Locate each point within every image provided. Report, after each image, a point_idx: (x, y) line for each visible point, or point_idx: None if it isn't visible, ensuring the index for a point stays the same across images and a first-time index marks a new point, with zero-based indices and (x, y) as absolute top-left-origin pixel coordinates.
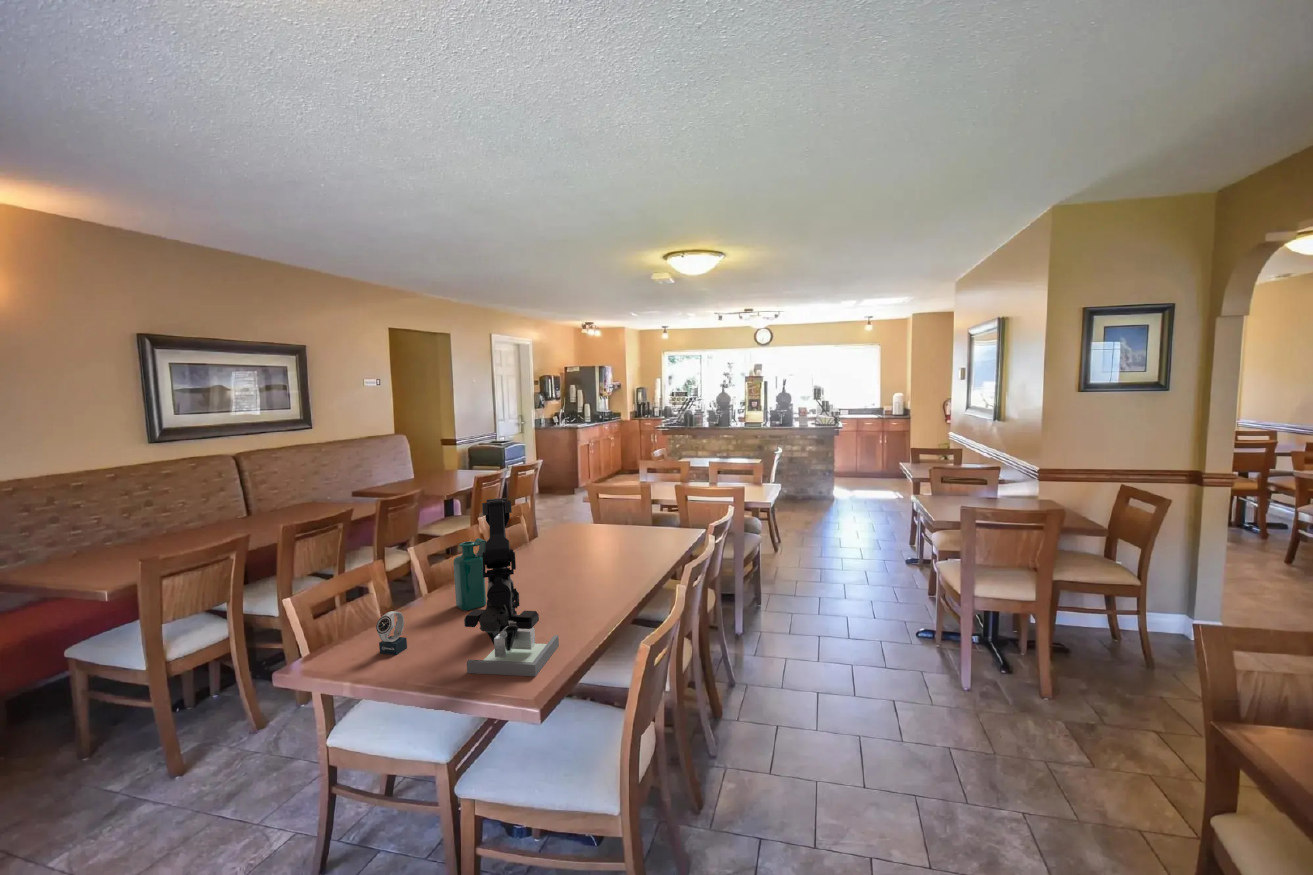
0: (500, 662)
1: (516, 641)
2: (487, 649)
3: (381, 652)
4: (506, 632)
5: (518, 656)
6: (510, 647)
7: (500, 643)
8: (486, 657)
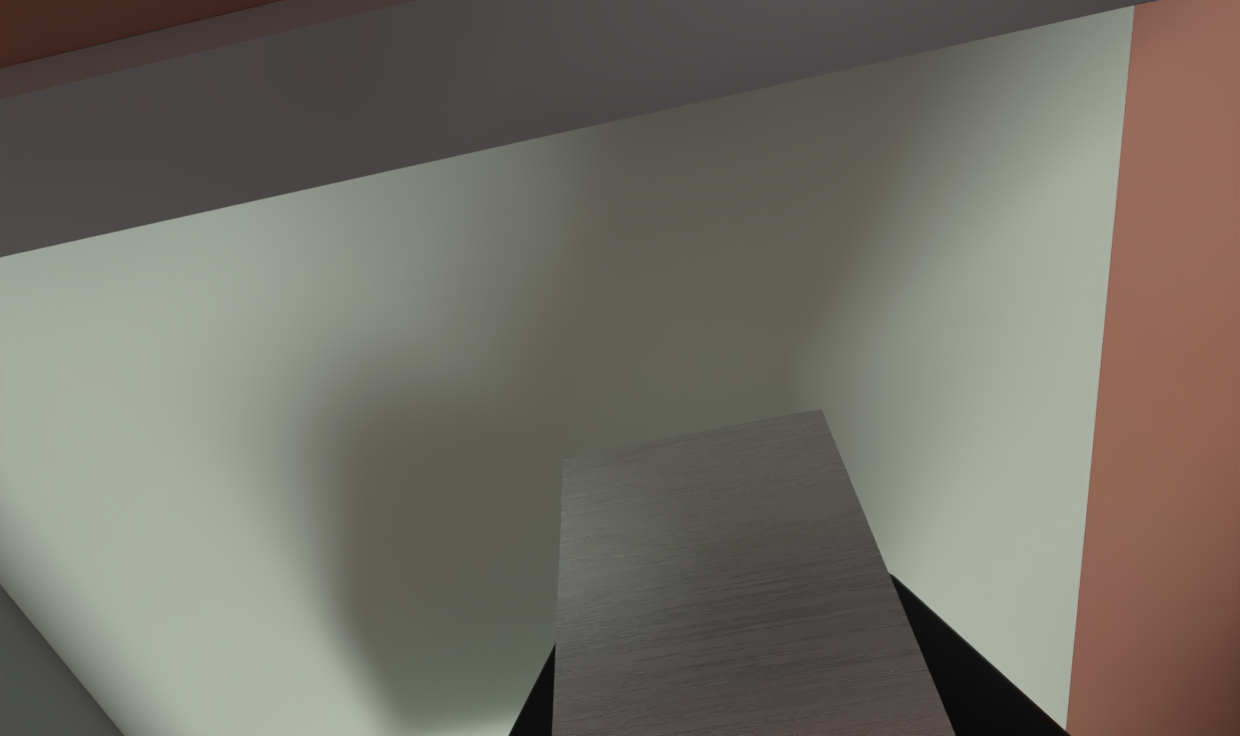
0: (319, 83)
1: None
2: (1187, 651)
3: None
4: None
5: (523, 616)
6: (544, 703)
7: (709, 719)
8: (1080, 448)
